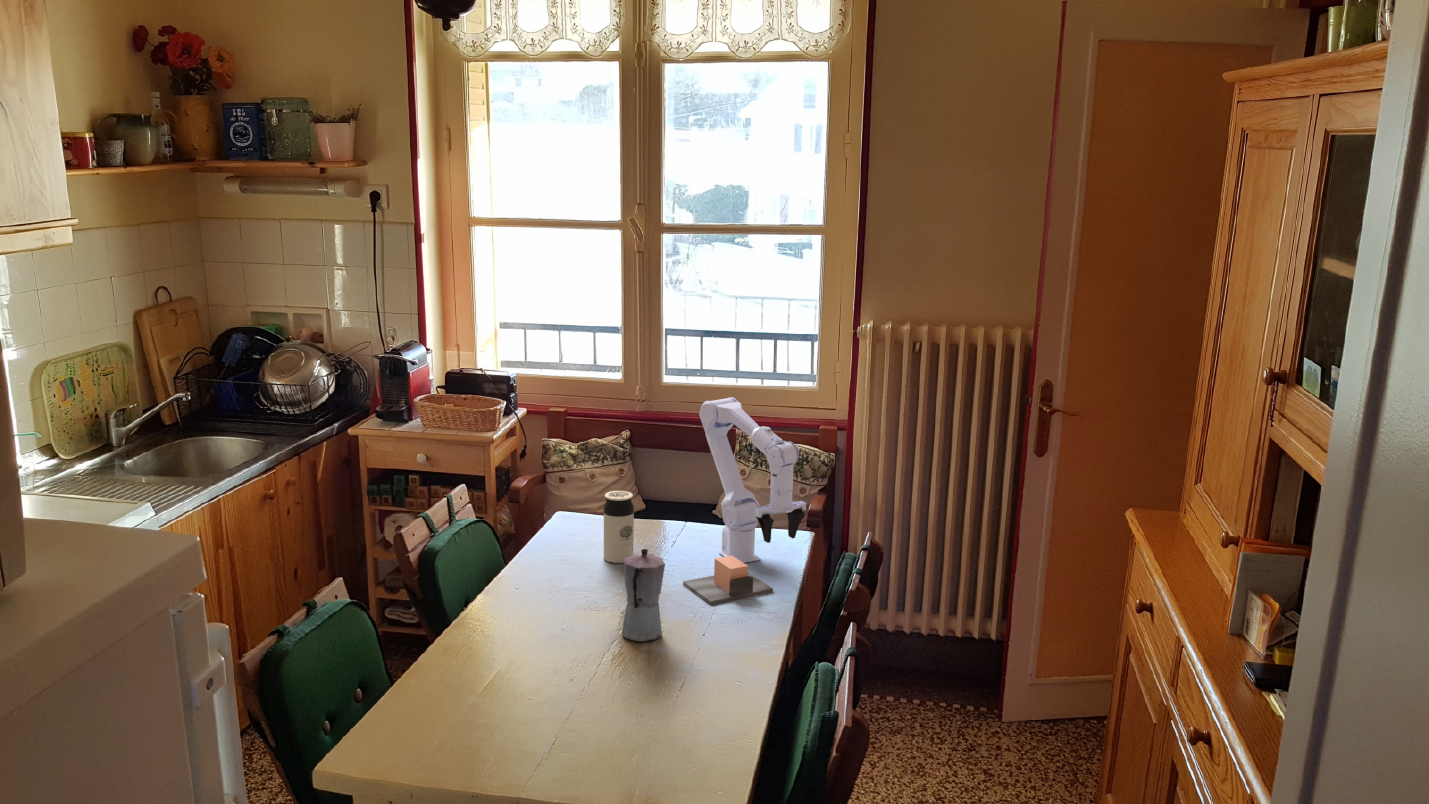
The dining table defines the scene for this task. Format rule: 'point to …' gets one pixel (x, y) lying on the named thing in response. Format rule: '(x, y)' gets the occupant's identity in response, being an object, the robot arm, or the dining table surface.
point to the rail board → (736, 591)
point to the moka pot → (643, 596)
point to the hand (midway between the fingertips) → (779, 539)
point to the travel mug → (618, 526)
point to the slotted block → (728, 571)
